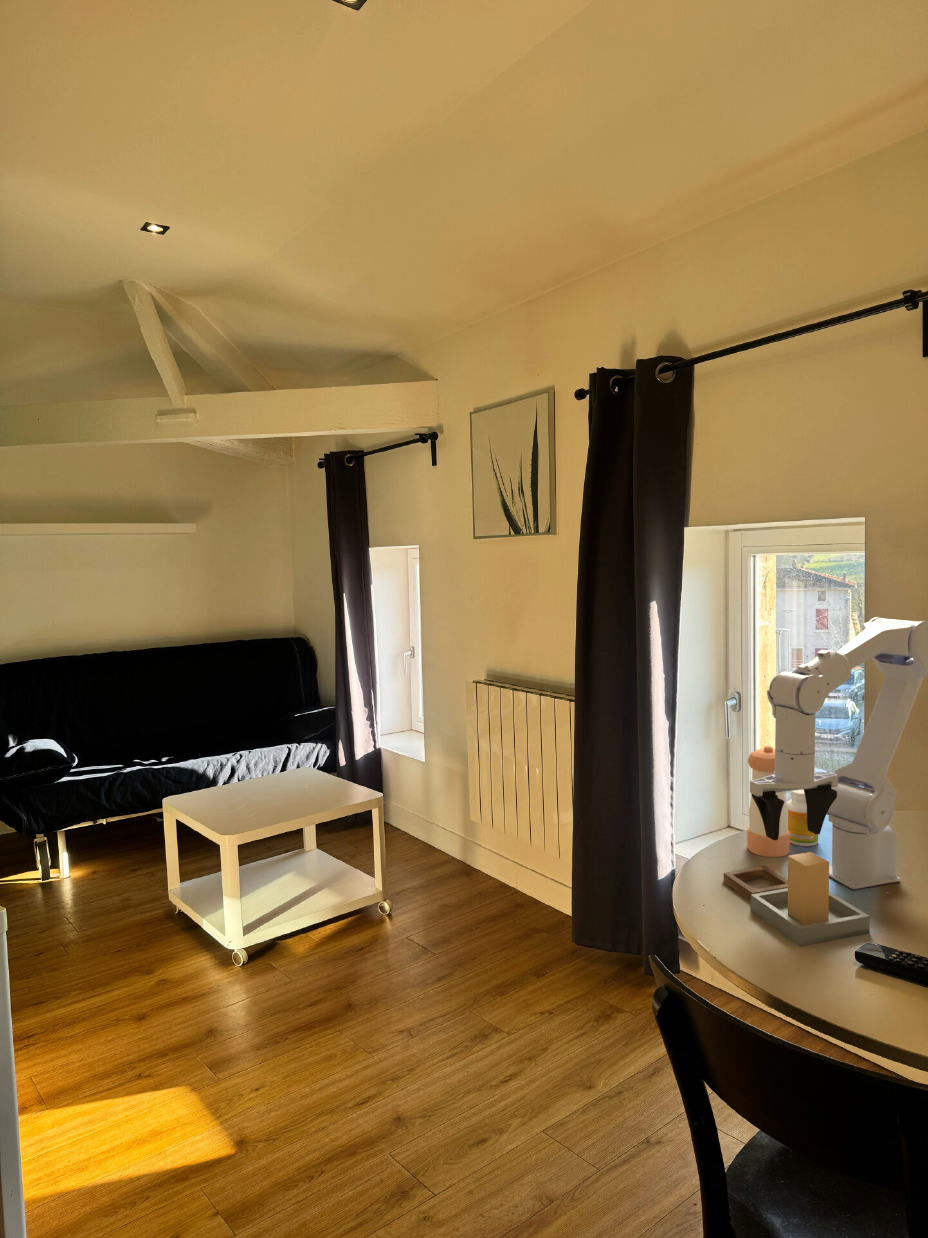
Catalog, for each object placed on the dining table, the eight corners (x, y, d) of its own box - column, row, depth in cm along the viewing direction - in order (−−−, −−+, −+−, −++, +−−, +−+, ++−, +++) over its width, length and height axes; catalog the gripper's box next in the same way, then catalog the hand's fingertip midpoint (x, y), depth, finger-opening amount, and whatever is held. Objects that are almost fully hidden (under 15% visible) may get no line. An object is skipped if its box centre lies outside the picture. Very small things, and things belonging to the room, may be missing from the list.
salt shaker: (738, 846, 151) (738, 744, 149) (770, 839, 154) (770, 739, 152) (766, 860, 144) (766, 754, 142) (798, 853, 147) (799, 748, 145)
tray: (815, 898, 129) (815, 883, 129) (869, 932, 118) (869, 916, 118) (750, 910, 126) (750, 894, 126) (800, 946, 115) (800, 929, 115)
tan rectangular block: (810, 909, 125) (810, 852, 124) (828, 920, 121) (829, 862, 120) (787, 913, 124) (787, 855, 123) (805, 925, 120) (805, 866, 119)
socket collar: (765, 874, 139) (765, 866, 138) (796, 894, 131) (796, 885, 131) (723, 881, 137) (723, 873, 136) (752, 902, 129) (752, 893, 129)
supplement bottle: (821, 847, 149) (821, 795, 148) (789, 846, 150) (790, 795, 149) (814, 836, 154) (815, 786, 153) (784, 835, 155) (784, 785, 154)
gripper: (817, 740, 133) (815, 821, 134) (738, 748, 129) (737, 831, 130) (848, 750, 126) (846, 836, 127) (766, 759, 122) (764, 847, 124)
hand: (793, 835), depth 128 cm, fingers open, 7 cm apart
